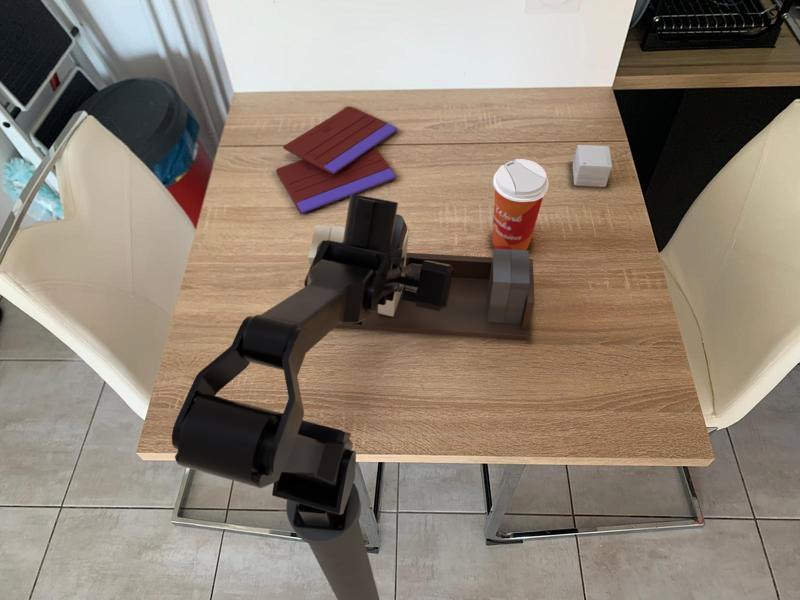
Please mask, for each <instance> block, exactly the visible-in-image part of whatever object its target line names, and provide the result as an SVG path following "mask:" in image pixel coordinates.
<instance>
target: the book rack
mask: <svg viewBox="0 0 800 600" xmlns="http://www.w3.org/2000/svg"><path fill="white" fill-rule="evenodd" d="M344 231H345V226H341V225H339V226H337V225H319V224H316V225H314V230H313V234H312V239H311V243H310V247H309V252H308V256H307V260H308V263H309V267H311V265H312V262H313V260H314V258H315V256H316V252H317V247H318V245H319V243H321V242H322V241H323V240H331V241H336V242H343V238H344ZM410 257H412V258H417V259H422V260H426V261H433V262H438V263H443V264H448V265H451V266H452V268H453V269H454V271H453V276H452V281H451V287H450V292H449V297H448V302H447V307H445V308H444V309H443V310H441V311H440V312H439V311H435V310H430V309H426V308H421V307H416V306H415V302H410V301H406V300H402V296H403V291H404V287H403V291H402V293H401V296H400V299H399V302H398V305H397V308H396V311H395V314H394V317H392V316H388V315H384V314H380V313H378V305H377V307H376V309H375V311H374V312H370V314H369V316H368V317H367V318H366V319H365V320H364V324H363V326H359V325H355V324H350V323H340V324H338V325H337V326H336V327H335V328H346V329H359V330H373V331H374V330H377V331H392V332H405V333H406V332H407V333H420V334H421V333H422V334H435V335H437V334H438V335H451V336H452V335H454V336H466V337H467V336H468V337H483V338H496V339H497V338H499V339H512V340H513V339H515V340H528V337H529V327H530V324H531V319H532V315H533V311H534V307H535V304H536V303H535V278H534V277H535V276H534V272H535V271H534V259H533V258H530V251H529V250H528V249H527V250H507V249H496V248H493V250H492V256H491V257H490V256H477V255H475V256H473V255H456V254H440V253H439V254H438V253H423V252H422V253H421V252H420V253H419V252H418V253H417V252H407V257H406V267H407V266H408V263H409V258H410Z"/></svg>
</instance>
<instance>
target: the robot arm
mask: <svg viewBox="0 0 800 600" xmlns="http://www.w3.org/2000/svg"><path fill="white" fill-rule="evenodd" d="M398 207H399V202H397V201H393V200H387V199H382V198H377V197H371V196H366V195H359V194H353V195H352V194H351V195H350V196H349V200H348V208H347V214H346V219H345V226H344V227H345V231H344V238H343V242H336V241H331V240H323V241H322V242H321V243H319V245H318V247H317V252H316V256H315V258H314V260H313V262H312V265H311V267H310V266H309V267H310V268H309V269H308V272H307V273H306V276H305V279H304V281H303V283H304V284H303V286H304V287H302V288H301V289H300V290H298V291H297V292H294V293H293V294H291V295H290V296H288V297H287V298H285V299H284V300H283V301H281V302H279V303H277V304H275V305H274V306H273V307H271V308H269V309H267V310H266V311H264V312H263V313H261V314H255V315H249V316H246V317H245V318H244V319H243V320H242V322H241V324H240V325H239V328H238V330H237V332H236V335H235V337H234V339H233V342H232V344H231V345H230V346H229V347H228V348H227V349H225V350H224V351H223V352H222V353H221V354H220V355H218V356H217V357H216V358H215V359H214V360H212V361H211V362H209V363H208V365H205V367H204V368H202V369H201V370H200V371H199V372H198V373H197V374H196V375H195V378H194V380H193V382H192V384H191V386H190V388H189V391H188V393H187V394H186V398H185V400H184V401H183V404H182V405H181V407H180V408H181V409H180V410H179V412H178V415H177V416H176V419H175V422H174V425H173V427H172V434H171V444H172V446H173V448H174V449H176V450H177V452H176V454H175V455H174V459H175V461H176V464H177V465H178V466H181V467H182V468H183V467H184V468H187V469H190V470H193V471H198V472H201V473H205V474H208V475H212V476H215V477H219V478H222V479H226V480H230V481H232V482H237V483H240V484H243V485H247V486H250V487H254V488H257V489H263V488H265V487H268V486H270V485H273V487H272V493H271V496H272V497H275V498H279V499H283V500H286V501H287V500H289V501H293V502H297V504H296V509H295V514H294V520H293V524H294V526H295V527H299V528H310V529H321V530H332V531H343V530H344V529H345V523H346V516H347V510H348V503H349V496H350V492H351V489H352V486H353V483H354V484H355V479H356V465H357V461H356V460H357V452H356V450H353V447H354V444H353V441H352V440H351V437H352V432H347V431H343V430H342V429H338V428H336V427H335V428H334V427H330V426H327V425H323V424H318V423H315V422H310V421H306V420H304V416H305V410H304V404H303V399H302V394H301V388H300V384H299V378H298V377H299V374H300V370H301V369H302V368H301V367H302V365H303V363H304V360H305V357H306V354H307V353H308V352H310V350H311V349H313V347H314V346H316V345H317V344H318V343H320V341H322V339H324V338H325V337H326V336H327V335H328V334H329V333H330V332H331V331H333V330H334V329H335V328H337V327H336V326H337V325H338V324H340V323H350V324H355V325H359V326H363V324H364V320H365V319H366V318H367V317H368V316H369V314H370V312H374V311H375V309H376V307H377V305H378V304H379V305H385V304H386V300H389V301H393V299H394V293H395V291H396V292H402V291H403V286H404V291H403V296H402V300H406V301H410V302H415V306H416V307H421V308H426V309H430V310H435V311H439V312H440V311H441V310H443V309H444V308H445V307H447V302H448V297H449V292H450V287H451V281H452V276H453V271H454V269H453V268H452V266H451V265H448V264H443V263H438V262H433V261H426V260H422V259H417V258H412V257H410V258H409V263H408V266H407V267H404V266H403V264H404V258H405V257H403V256H402V252H403V249H402V247H403V243H404V240H405V236H406V233H407V230H408V226H407V223H406V221H405V219H404V217H403V216H402V215H401V214H398ZM401 272H402V274H404V273H405V276H403V275H401ZM400 284H403V285H401V287H400ZM251 363H252V364H256V365H260V366H263V367H264V366H265V367H267V368H272V369H277V370H282V371H283V374H284V379H285V384H286V391H287V396H288V400H287V403H286V406H285V407H284V410H283V412H279V411H276V410H271V409H267V408H263V407H259V406H255V405H251V404H249V403H244V402H241V401H237V400H233V399H230V398H229V399H228V398H225V397H221V396H216V395H217V394H218V393H219V392H220V391H221V390H223V388H224V387H226V386H227V385H228V384H229V383H230V382H232V381H233V380H234V379H235V378H237V377H238V376H239V375H240V374H241V373H242V372H244V370H246V369H247V368H248V367H249V365H250V364H251ZM297 521H299V524H296V522H297ZM340 525H342V526H343V527H342V528H339V526H340Z"/></svg>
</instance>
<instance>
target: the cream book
mask: <svg viewBox="0 0 800 600" xmlns="http://www.w3.org/2000/svg"><path fill="white" fill-rule="evenodd" d="M409 235H410V230H409V229H407V233H406V236H405V240H404V243H403V247H402V249H403V252H402V256H403V257H405V258H404V264H403V266H404V267H406V257H407V253H408V246H409ZM401 275H403V276H405V273H404V274H402V272H401ZM401 285H403V284H400V287H401ZM403 287H404V286H403ZM401 293H402V292H396V291H395V293H394V299H393V301H389V300H386V304H385V305H379V304H378V313H380V314H384V315H388V316H392V317H394V314H395V311H396V308H397V305H398V302H399V299H400V296H401Z"/></svg>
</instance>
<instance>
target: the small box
mask: <svg viewBox="0 0 800 600" xmlns="http://www.w3.org/2000/svg"><path fill="white" fill-rule="evenodd" d="M610 149H611V148H610V146H609V145H593V144H591V145H590V144H578V145H576V150H575V154H574V158H573V161H572V162H573V163H572V175H573V184H574V186H578V187H596V188H606V187H607V185H608V181H609V179H610V175H611V171H612V169H613V162H612V156H611V150H610Z"/></svg>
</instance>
